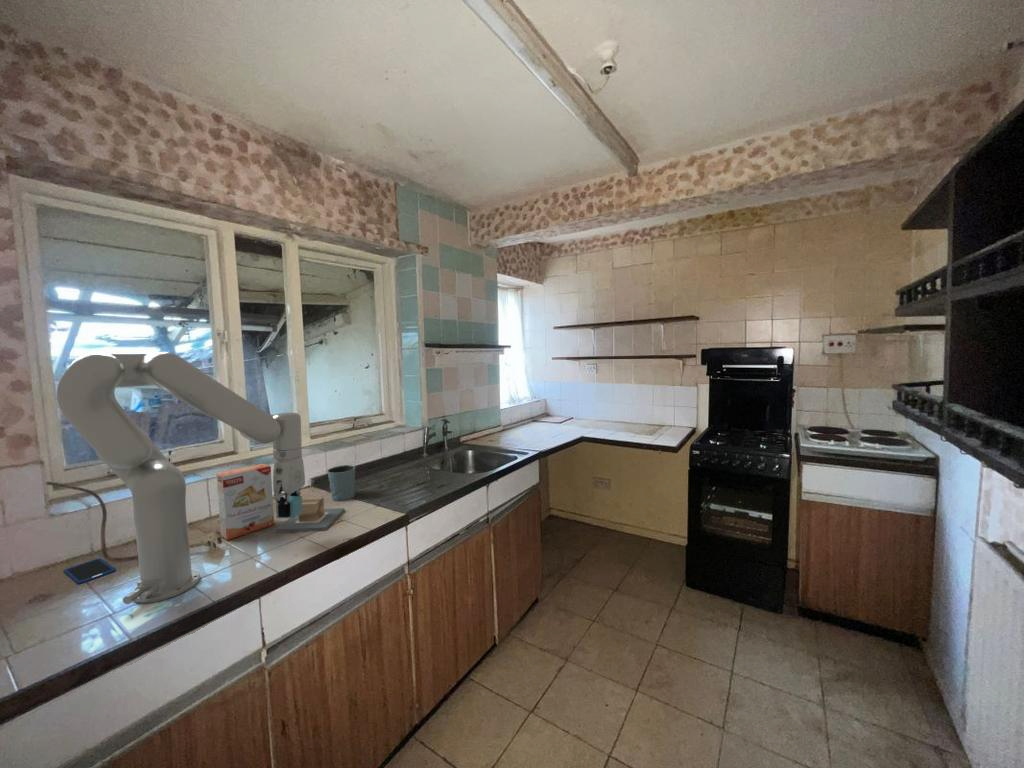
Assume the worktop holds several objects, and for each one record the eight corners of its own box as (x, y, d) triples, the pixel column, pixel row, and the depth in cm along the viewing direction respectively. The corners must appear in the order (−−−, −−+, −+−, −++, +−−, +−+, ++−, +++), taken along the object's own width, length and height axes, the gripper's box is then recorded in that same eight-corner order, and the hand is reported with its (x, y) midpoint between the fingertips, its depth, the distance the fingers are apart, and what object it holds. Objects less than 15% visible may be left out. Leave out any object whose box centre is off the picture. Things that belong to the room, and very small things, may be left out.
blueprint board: (325, 530, 129) (325, 526, 129) (276, 532, 129) (275, 528, 128) (344, 510, 145) (344, 507, 145) (300, 512, 144) (300, 509, 144)
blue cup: (361, 493, 163) (359, 465, 162) (348, 502, 153) (346, 472, 152) (337, 493, 164) (336, 464, 163) (324, 502, 154) (322, 472, 153)
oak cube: (316, 520, 134) (315, 503, 133) (298, 521, 134) (297, 504, 133) (324, 513, 140) (323, 497, 139) (307, 514, 140) (306, 498, 139)
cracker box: (227, 541, 123) (222, 476, 121) (220, 536, 126) (215, 473, 125) (275, 525, 134) (271, 465, 132) (267, 521, 138) (263, 462, 136)
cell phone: (78, 586, 101) (78, 583, 101) (62, 572, 108) (62, 569, 108) (117, 572, 107) (117, 569, 107) (100, 559, 114) (99, 557, 114)
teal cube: (293, 517, 117) (293, 501, 117) (276, 518, 117) (276, 501, 117) (302, 511, 122) (301, 495, 122) (285, 511, 122) (285, 496, 122)
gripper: (285, 460, 110) (287, 524, 111) (313, 447, 127) (315, 503, 128) (257, 461, 110) (260, 524, 111) (290, 448, 127) (291, 503, 128)
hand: (289, 512), depth 120 cm, fingers closed on teal cube, 4 cm apart
